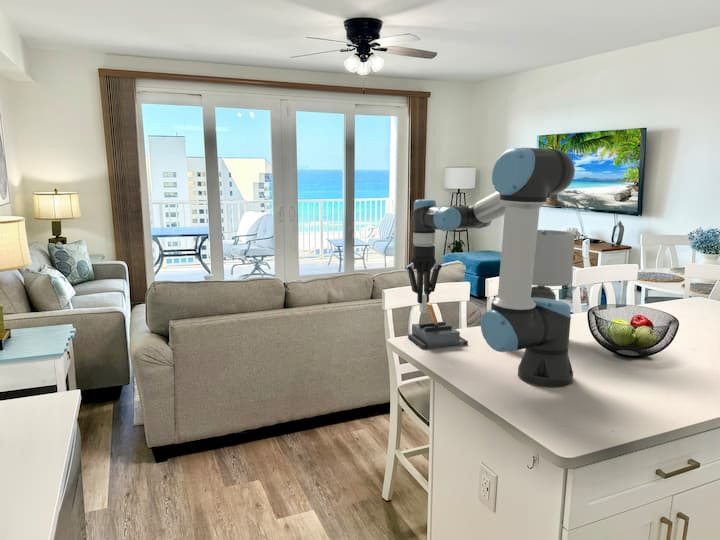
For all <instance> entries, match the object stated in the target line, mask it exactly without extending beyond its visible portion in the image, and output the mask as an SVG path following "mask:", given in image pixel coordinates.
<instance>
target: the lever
mask: <svg viewBox="0 0 720 540" xmlns="http://www.w3.org/2000/svg"><path fill="white" fill-rule="evenodd" d="M427 311H428V312H427V313H428V314H429V317H430V320H431V323H432V324H433V325H435V326H439V324H438V322H439V321H438V319H437V316H436V313H435V310H434V307H433V304H432V303H430V302H429V303H427Z"/></svg>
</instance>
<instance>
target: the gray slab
mask: <svg viewBox="0 0 720 540" xmlns="http://www.w3.org/2000/svg"><path fill="white" fill-rule="evenodd" d="M468 343H469V341H468V340H466V339H465V338H463V337H461V336H460V341H459V346H458V347H463V346H468Z"/></svg>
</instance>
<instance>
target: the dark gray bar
mask: <svg viewBox="0 0 720 540" xmlns="http://www.w3.org/2000/svg"><path fill="white" fill-rule="evenodd" d="M407 339H408V340H409V341H410V342H412V343H413V344H415V345H416V346H417V347H419V348H420V349H421V350H426V349H427V348H426V344H424V343H423V342H422V341H420V340H419V339H417V338H416V337H415V336H413V335H412V333H410V334H407Z"/></svg>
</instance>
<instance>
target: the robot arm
mask: <svg viewBox="0 0 720 540" xmlns="http://www.w3.org/2000/svg"><path fill="white" fill-rule="evenodd" d="M575 170H576V168H575V164H574V161H573V160H572V158H571V156H569V154H568V153H566V152H565V151H563V150H560V149H557V148H536V147H535V148H534V147H525V146H523V147H514V148H513V147H512V148H509V149H507V150H506V151H504V152H502V153H501V155H500V156H499V157H498V158H497V159H496V161H495V163H494V165H493V168H492V172H491V173H492V174H491V182H492V185H493V188H494V190H495V192H493V193H490V194H489V195H488V196H486V197H484V198H482V199H480V200H478V201H477V202H474V203H473V204H471V205H460V206H459V205H457V206H456V205H454V206H453V205H451V206H450V205H449V206H439V205H437V202H436V200H435V199H416V200H414V202H413V211H412V212H413V214H412V215H413V216H412V217H413V218H412V219H413V220H412V221H413V222H412V223H413V224H412V225H413V229H412V230H413V233H412V244H413V246H412V260H411V262H410V264H408V265H406V266H405V269H406V271H407V272H408V276H409V277H408V278H409V282H410V286H411V290H412V292H414V293H415V294H416V295H417V298H416V299H417V301H416V302H417V303H418V304H419V312H420V313H422V314H427V313H428V312H427V311H428V309H427V303H430V295H431V293H434V292H435V289H436V285H437V281H438V278H439V273H440V271H441V269H442V267H443V266H442V264H440V263H438V262H437V261H436V258H435V257H436V246H435V244H436V230H439V231H442V232H451V231H455V230H465V229H482V228H487V227H489V226H491V225H490V224H491V223H492V222H493V221H494V220H495V219H498V218H500V217H502V216H504V217H503V230H502V241H501V255H500V264H499V265H500V267H499V276H498V277H499V278H498V290H497V295H495V296H494V297H493V298H492V299H491V304H490V309H489V310H487V311H485V312H484V314H482V316H481V318H480V331H481V334H482V336H483V339H484V340H485V342H486V343H487V345H488V346H489V347H490V348H491V349H493V350H494V351H496V352H499V353H506V352H507V353H508V352H509V353H512V352H515V351H519V350H524V352H523V355H522V356H521V360H520V363H519V364H518V367H517V376H518V377H519V379H521V380H522V381H524V382H526V383H527V384H531V385H535V386H540V387H546V388H547V387H548V388H558V387H559V388H560V387H566V386H570V385H572V383H574V371H573V368H572V363H571V359H570V358H569V357H570V356H569V347H570V346H569V345H570V333H571V332H570V330H571V320H572V316H571V310H572V309H571V307H570V305H569V304H568V303H567V302H564V301H561V300H558V299H556V300H553V299H546V298H537V297H532V298H531V290H532V287H533V285H532V280H533V270H534V259H535V249H536V239H537V230H539V229H538V226H539V218H540V217H539V216H540V210H541V208H542V207H543V206H544V205H545V204H547V200H548V199H549V198H552V197H553V196H555V195H557V194H561V193H562V192H563V191H565V190H566V189H567V188H568V187H570V185H571V184H572V182H573V181H574V177H575ZM414 269H415V270H416V275H415V272H414ZM431 271H432V272H431ZM416 277H417V278H416Z"/></svg>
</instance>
